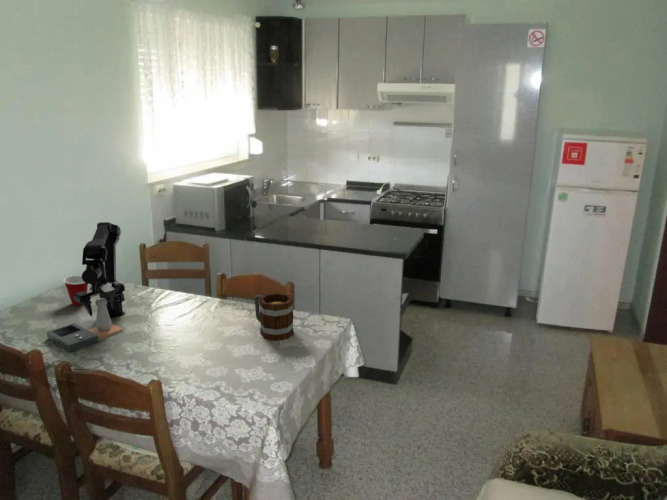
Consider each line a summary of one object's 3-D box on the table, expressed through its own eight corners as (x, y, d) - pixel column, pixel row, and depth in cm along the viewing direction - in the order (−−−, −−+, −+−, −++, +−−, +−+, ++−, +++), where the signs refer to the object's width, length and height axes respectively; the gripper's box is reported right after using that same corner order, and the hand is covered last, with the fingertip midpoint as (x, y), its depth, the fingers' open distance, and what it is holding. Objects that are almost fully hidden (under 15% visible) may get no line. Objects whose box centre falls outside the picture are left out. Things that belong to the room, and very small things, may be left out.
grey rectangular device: (75, 329, 221) (74, 322, 220) (98, 342, 210) (97, 334, 209) (47, 339, 213) (46, 331, 212) (70, 352, 202) (69, 344, 201)
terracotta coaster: (109, 324, 226) (109, 322, 226) (122, 331, 220) (122, 328, 220) (86, 332, 219) (85, 330, 218) (99, 339, 213) (99, 337, 212)
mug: (300, 333, 219) (300, 298, 215) (275, 344, 210) (274, 308, 206) (269, 319, 232) (268, 286, 228) (243, 329, 223) (242, 295, 218)
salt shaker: (106, 333, 216) (102, 302, 212) (93, 331, 217) (89, 301, 213) (114, 327, 221) (111, 297, 218) (102, 325, 222) (98, 296, 219)
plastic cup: (86, 308, 243) (82, 282, 239) (62, 307, 243) (58, 282, 240) (96, 299, 253) (93, 274, 250) (73, 298, 253) (70, 274, 250)
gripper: (85, 286, 201) (90, 325, 205) (130, 273, 215) (134, 310, 219) (70, 279, 207) (75, 317, 212) (115, 267, 221) (119, 303, 226)
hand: (102, 312), depth 217 cm, fingers open, 9 cm apart
